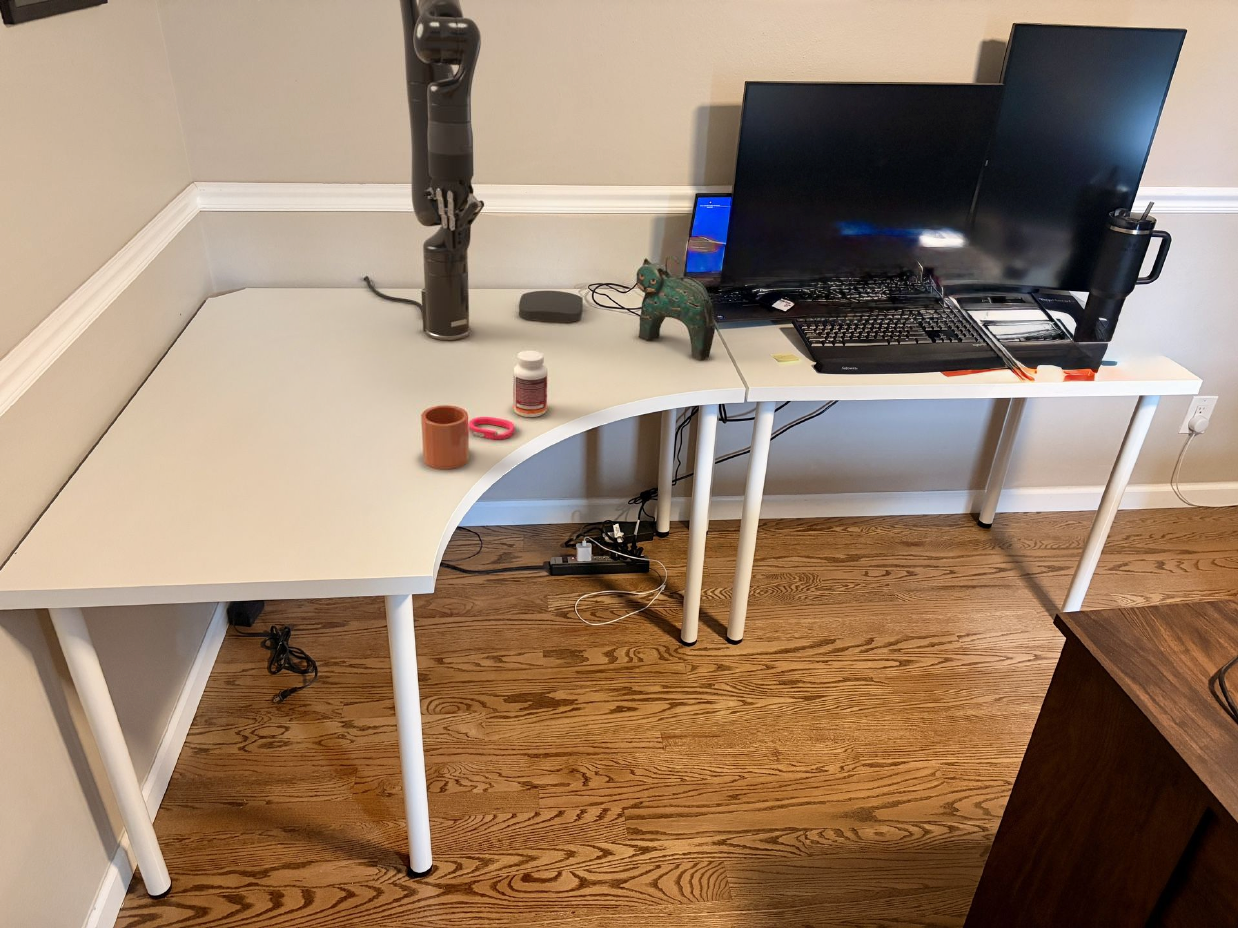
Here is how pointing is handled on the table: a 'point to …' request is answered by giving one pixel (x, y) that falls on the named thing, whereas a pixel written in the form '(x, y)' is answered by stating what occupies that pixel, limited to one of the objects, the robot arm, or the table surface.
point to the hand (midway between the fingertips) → (453, 249)
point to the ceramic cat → (675, 306)
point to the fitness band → (491, 433)
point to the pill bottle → (530, 384)
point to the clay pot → (445, 437)
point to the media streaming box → (551, 306)
